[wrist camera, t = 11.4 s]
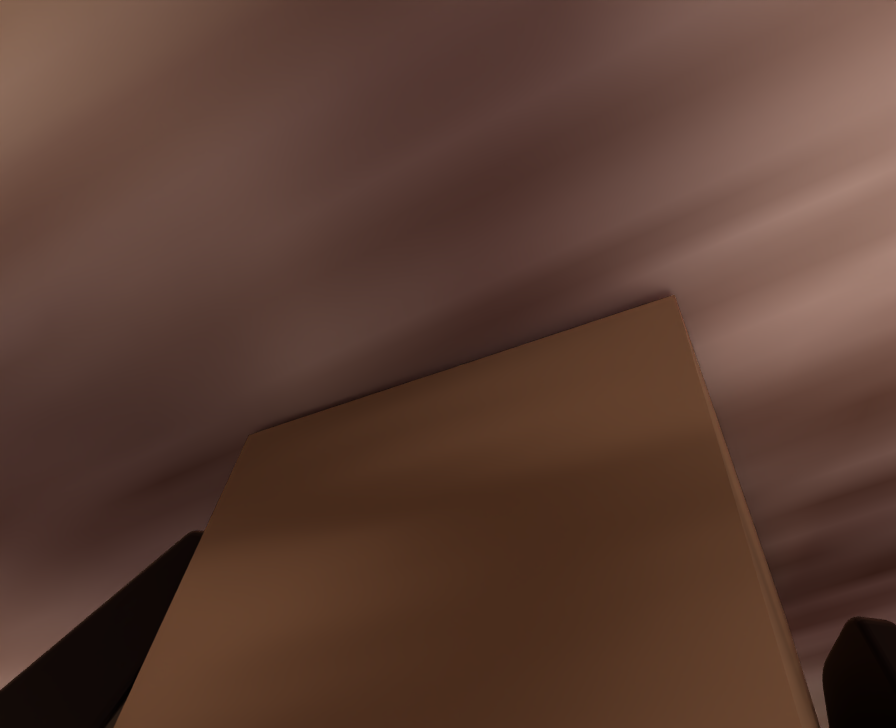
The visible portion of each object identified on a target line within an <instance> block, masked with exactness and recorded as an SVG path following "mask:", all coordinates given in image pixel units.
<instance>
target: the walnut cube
mask: <svg viewBox="0 0 896 728" xmlns="http://www.w3.org/2000/svg"><path fill="white" fill-rule="evenodd" d="M114 728H820V725H819V722H818V718H817V715H816V712H815V709H814V706H813V702H812V699H811V696H810V693H809V690H808V687H807V683H806V680H805V677H804V674H803V671H802V667H801V664H800V661H799V658H798V655H797V652H796V648H795V645H794V642H793V639H792V636H791V632H790V629H789V626H788V623H787V620H786V617H785V614H784V611H783V608H782V605H781V602H780V599H779V596H778V594H777V591H776V588H775V585H774V582H773V579H772V576H771V573H770V570H769V567H768V565H767V562H766V559H765V556H764V553H763V550H762V547H761V544H760V541H759V538H758V535H757V533H756V530H755V527H754V524H753V521H752V518H751V515H750V512H749V509H748V506H747V504H746V501H745V498H744V495H743V492H742V489H741V486H740V483H739V480H738V477H737V475H736V472H735V469H734V466H733V463H732V460H731V457H730V454H729V451H728V448H727V445H726V443H725V440H724V437H723V434H722V431H721V428H720V425H719V422H718V419H717V416H716V414H715V411H714V408H713V405H712V402H711V399H710V396H709V393H708V390H707V387H706V385H705V382H704V379H703V376H702V373H701V370H700V367H699V364H698V361H697V358H696V355H695V353H694V350H693V347H692V344H691V341H690V338H689V335H688V332H687V329H686V326H685V324H684V321H683V318H682V315H681V312H680V309H679V306H678V303H677V300H676V297H675V295H672V296H669V297H666V298H663V299H660V300H657V301H654V302H651V303H648V304H645V305H642V306H639V307H636V308H633V309H629V310H626V311H623V312H620V313H617V314H614V315H611V316H608V317H605V318H602V319H599V320H596V321H593V322H590V323H587V324H584V325H581V326H578V327H575V328H572V329H569V330H566V331H563V332H560V333H557V334H554V335H551V336H548V337H545V338H542V339H539V340H536V341H533V342H529V343H526V344H523V345H520V346H517V347H514V348H511V349H508V350H505V351H502V352H499V353H496V354H493V355H490V356H487V357H484V358H481V359H478V360H475V361H472V362H469V363H466V364H463V365H460V366H457V367H454V368H451V369H448V370H445V371H442V372H439V373H436V374H432V375H429V376H426V377H423V378H420V379H417V380H414V381H411V382H408V383H405V384H402V385H399V386H396V387H393V388H390V389H387V390H384V391H381V392H378V393H375V394H372V395H369V396H366V397H363V398H360V399H357V400H354V401H351V402H348V403H345V404H342V405H339V406H335V407H332V408H329V409H326V410H323V411H320V412H317V413H314V414H311V415H308V416H305V417H302V418H299V419H296V420H293V421H290V422H287V423H284V424H281V425H278V426H275V427H272V428H269V429H266V430H263V431H260V432H257V433H254V434H251V435H249V436H248V438H247V440H246V442H245V444H244V447H243V449H242V451H241V453H240V455H239V457H238V460H237V462H236V464H235V466H234V468H233V470H232V472H231V475H230V477H229V479H228V481H227V483H226V485H225V488H224V490H223V492H222V494H221V496H220V498H219V501H218V503H217V505H216V507H215V509H214V511H213V514H212V516H211V518H210V520H209V522H208V524H207V527H206V529H205V531H204V533H203V535H202V537H201V540H200V542H199V544H198V546H197V548H196V550H195V553H194V555H193V557H192V559H191V561H190V563H189V566H188V568H187V570H186V572H185V574H184V576H183V579H182V581H181V583H180V585H179V587H178V589H177V592H176V594H175V596H174V598H173V600H172V602H171V605H170V607H169V609H168V611H167V613H166V615H165V617H164V620H163V622H162V624H161V626H160V628H159V630H158V633H157V635H156V637H155V639H154V641H153V643H152V646H151V648H150V650H149V652H148V654H147V656H146V659H145V661H144V663H143V665H142V667H141V669H140V672H139V674H138V676H137V678H136V680H135V682H134V685H133V687H132V689H131V691H130V693H129V695H128V698H127V700H126V702H125V704H124V706H123V708H122V711H121V713H120V715H119V717H118V719H117V721H116V724H115V726H114Z"/></svg>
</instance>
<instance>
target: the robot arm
mask: <svg viewBox="0 0 896 728" xmlns="http://www.w3.org/2000/svg"><path fill="white" fill-rule="evenodd" d="M203 533H204V531H199V530H196V531H192V532H190V533H188V534H187V535H186V536H184V537H183V538H182V539H181V540H180V541H178V542H177V543H176V544H175V545H174V546H172V547H171V548H170V549H169V550H168V551H166V552H165V553H164V554H163V555H162V556H160V557H159V558H158V559H157V560H156V561H154V562H153V563H152V564H151V565H150V566H148V567H147V568H146V569H145V570H144V571H142V572H141V573H140V574H139V575H138V576H136V577H135V578H134V579H133V580H132V581H130V582H129V583H128V584H127V585H126V586H124V587H123V588H122V589H121V590H120V591H118V592H117V593H116V594H115V595H114V596H112V597H111V598H110V599H109V600H108V601H106V602H105V603H104V604H103V605H102V606H100V607H99V608H98V609H97V610H96V611H94V612H93V613H92V614H91V615H90V616H88V617H87V618H86V619H85V620H84V621H83V622H81V623H80V624H79V625H78V626H77V627H75V628H74V629H73V630H72V631H71V632H69V633H68V634H67V635H66V636H65V637H63V638H62V639H61V640H60V641H59V642H57V643H56V644H55V645H54V646H53V647H51V648H50V649H49V650H48V651H47V652H45V653H44V654H43V655H42V656H41V657H39V658H38V659H37V660H36V661H35V662H33V663H32V664H31V665H30V666H29V667H27V668H26V669H25V670H24V671H23V672H21V673H20V674H19V675H18V676H17V677H15V678H14V679H13V680H12V681H11V682H9V683H8V684H7V685H6V686H5V687H3V688H2V689H1V690H0V728H114V726H115V724H116V721H117V719H118V717H119V715H120V713H121V711H122V708H123V706H124V704H125V702H126V700H127V698H128V695H129V693H130V691H131V689H132V687H133V685H134V682H135V680H136V678H137V676H138V674H139V672H140V669H141V667H142V665H143V663H144V661H145V659H146V656H147V654H148V652H149V650H150V648H151V646H152V643H153V641H154V639H155V637H156V635H157V633H158V630H159V628H160V626H161V624H162V622H163V620H164V617H165V615H166V613H167V611H168V609H169V607H170V605H171V602H172V600H173V598H174V596H175V594H176V592H177V589H178V587H179V585H180V583H181V581H182V579H183V576H184V574H185V572H186V570H187V568H188V566H189V563H190V561H191V559H192V557H193V555H194V553H195V550H196V548H197V546H198V544H199V542H200V540H201V537H202V535H203ZM822 682H823V690H824V696H825V703H826V710H827V716H828V723H829V728H896V625H895V624H893V623H892V622H890V621H887V620H881V619H874V618H866V617H859V616H858V617H853V618H851V619H850V620H848V621H847V623H846V624H845V626H844V627H843V629H842V631H841V633H840V635H839V637H838V639H837V640H836V642H835V644H834V646H833V648H832V650H831V651H830V653H829V655H828V657H827V659H826V661H825V664H824V667H823V674H822Z"/></svg>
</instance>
